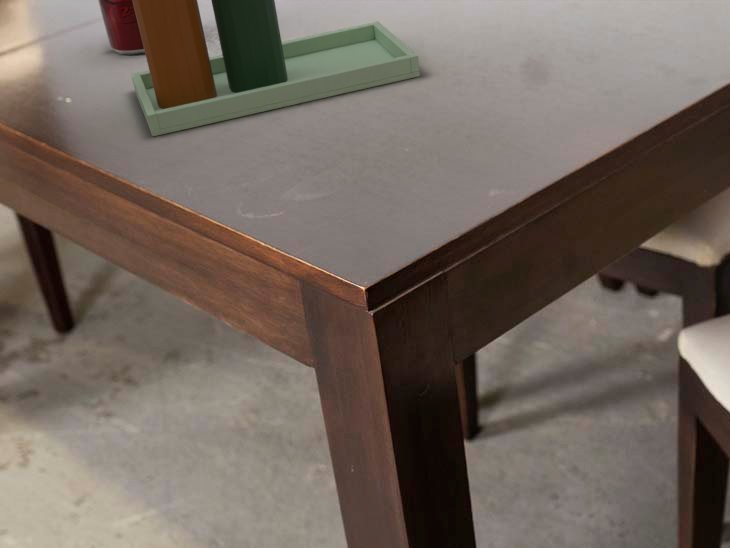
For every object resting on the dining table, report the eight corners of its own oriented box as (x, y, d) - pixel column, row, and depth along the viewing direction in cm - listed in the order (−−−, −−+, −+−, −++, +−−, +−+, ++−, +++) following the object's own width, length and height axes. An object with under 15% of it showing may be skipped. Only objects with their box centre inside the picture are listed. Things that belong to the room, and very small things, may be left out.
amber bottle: (163, 120, 103) (122, -48, 94) (155, 101, 107) (116, -60, 98) (222, 107, 104) (187, -60, 95) (211, 89, 108) (177, -72, 100)
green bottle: (236, 104, 104) (203, -63, 95) (225, 86, 108) (193, -75, 100) (294, 91, 105) (266, -75, 96) (280, 73, 109) (253, -87, 101)
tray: (152, 136, 99) (147, 115, 98) (135, 93, 110) (131, 74, 108) (420, 76, 104) (418, 55, 103) (380, 40, 114) (378, 21, 113)
